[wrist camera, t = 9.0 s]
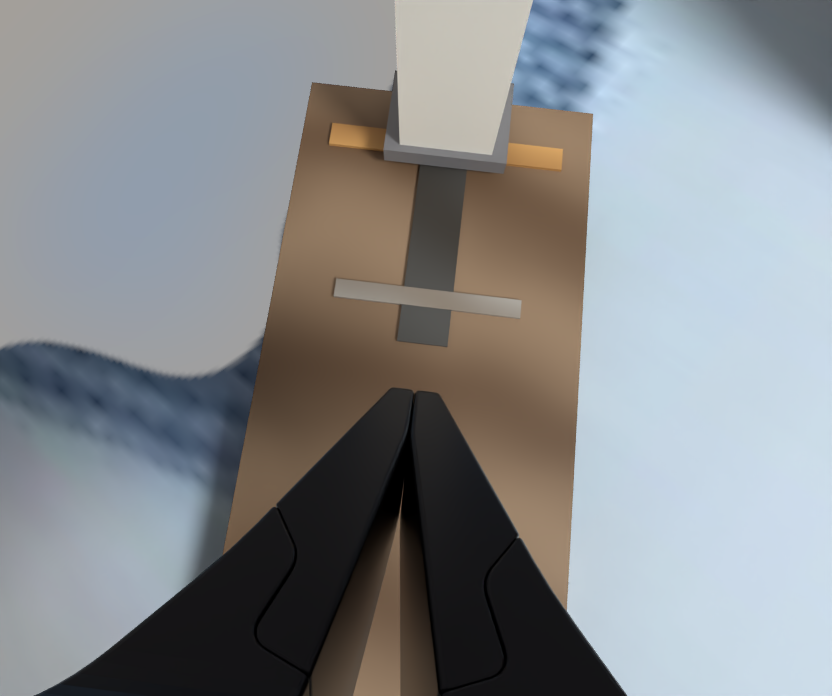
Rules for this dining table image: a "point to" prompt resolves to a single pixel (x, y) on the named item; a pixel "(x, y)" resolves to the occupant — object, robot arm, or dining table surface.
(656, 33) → the dining table surface
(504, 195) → the wooden board
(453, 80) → the lever
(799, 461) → the dining table surface
